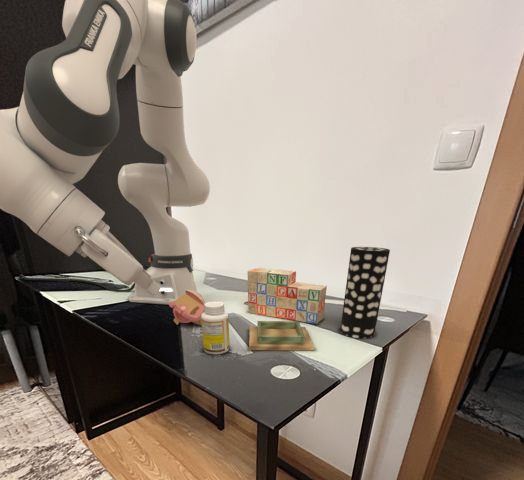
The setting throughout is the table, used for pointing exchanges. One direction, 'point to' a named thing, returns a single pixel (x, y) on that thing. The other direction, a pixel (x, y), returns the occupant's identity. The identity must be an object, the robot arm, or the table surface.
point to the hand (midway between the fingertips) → (152, 285)
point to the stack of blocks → (284, 296)
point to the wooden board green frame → (279, 336)
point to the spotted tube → (363, 291)
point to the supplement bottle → (215, 328)
